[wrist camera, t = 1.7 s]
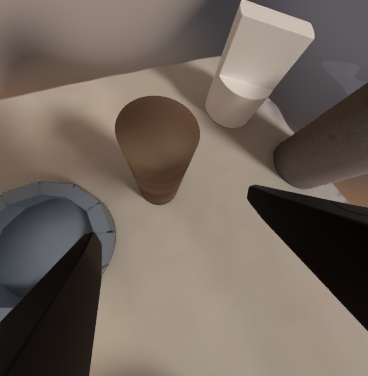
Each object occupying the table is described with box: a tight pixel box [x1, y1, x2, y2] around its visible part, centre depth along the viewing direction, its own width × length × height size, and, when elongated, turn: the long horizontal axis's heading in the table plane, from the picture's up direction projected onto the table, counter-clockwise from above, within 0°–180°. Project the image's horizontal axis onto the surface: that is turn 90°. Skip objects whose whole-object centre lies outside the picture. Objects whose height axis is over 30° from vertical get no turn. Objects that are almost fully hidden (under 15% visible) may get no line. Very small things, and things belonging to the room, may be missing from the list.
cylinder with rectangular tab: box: [205, 0, 314, 128], centre depth 21 cm, size 9×9×12 cm
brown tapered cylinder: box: [115, 96, 200, 205], centre depth 14 cm, size 5×5×12 cm
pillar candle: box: [274, 83, 368, 189], centre depth 19 cm, size 10×10×15 cm
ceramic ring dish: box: [0, 181, 116, 322], centre depth 15 cm, size 13×13×3 cm
